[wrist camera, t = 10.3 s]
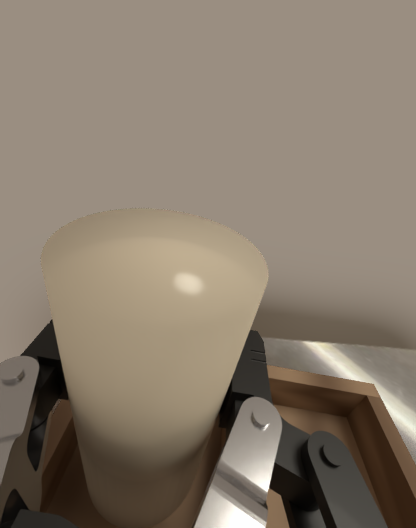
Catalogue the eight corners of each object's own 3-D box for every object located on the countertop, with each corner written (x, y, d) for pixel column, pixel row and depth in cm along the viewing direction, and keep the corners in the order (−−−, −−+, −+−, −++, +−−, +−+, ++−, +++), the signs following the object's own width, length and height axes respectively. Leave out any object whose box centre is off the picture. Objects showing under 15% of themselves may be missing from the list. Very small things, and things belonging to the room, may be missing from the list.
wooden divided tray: (347, 412, 20) (373, 384, 18) (466, 720, 10) (557, 738, 8) (102, 369, 20) (99, 334, 18) (-35, 645, 10) (-82, 642, 7)
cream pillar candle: (202, 409, 15) (257, 227, 9) (190, 539, 10) (288, 352, 4) (113, 393, 15) (106, 197, 9) (61, 518, 10) (-35, 292, 4)
